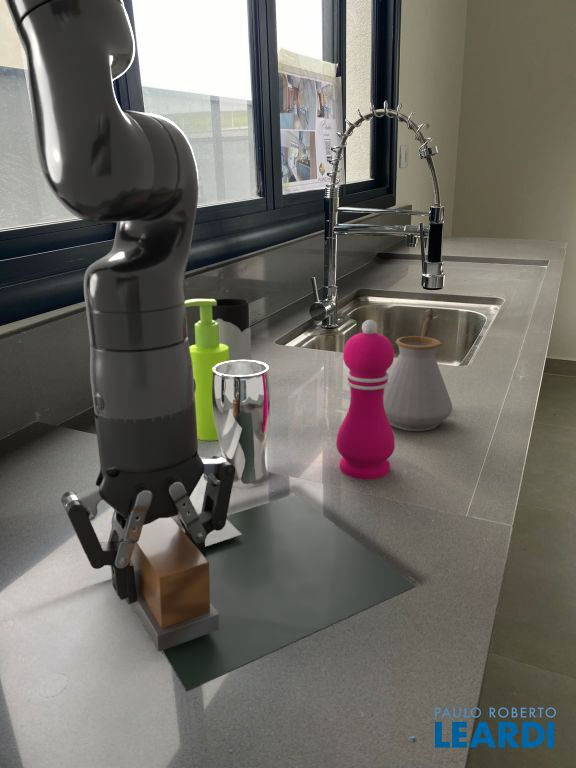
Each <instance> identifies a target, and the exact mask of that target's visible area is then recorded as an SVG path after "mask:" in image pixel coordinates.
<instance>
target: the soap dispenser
mask: <svg viewBox="0 0 576 768" xmlns="http://www.w3.org/2000/svg"><path fill="white" fill-rule="evenodd" d="M215 300H216V299H214V298H191V299H186V300H185V302H186V308H190V307H199V319H200V320H198V321H197V322H196V323H194V338H195V339H194V340H195V344H192V345H189V349H190V354H191V358H192V364H193V372H194V379H195V383H196V389H195V405H196V422H197V438H198V441H199V440H200V441H204V442H206V441H207V442H214V441H219V440H218V436H217V432H216V427H215V422H214V417H213V408H212V377H213V371H212V369H213V367H214V366H215V365H217V364H220V363H223V362H227V361H229V347H228V346H227V345H224V344H220V341H219V323H218V322H215V321H214V320H213V319H212V306H217V302H216V301H215Z"/></svg>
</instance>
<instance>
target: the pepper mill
mask: <svg viewBox="0 0 576 768" xmlns="http://www.w3.org/2000/svg"><path fill="white" fill-rule="evenodd" d="M377 330H378V324H377V323H376V321H374V320H373V319H367V320H365V321H364V322H363V323H362V324H361V331H362V332H358V333H356V334H354V335H352V336H351V337H350V338H349V339H348V340H347V341H346V342H345V344H344V347H343V352H342V359H343V361H344V364H345V366H346V367H347V368H348V369H349V370H348V371H347V373H346V377H347V379H346V384H347V385H348V386H349V389H350V398H349V400H350V401H349V406H348V409H347V413H346V415H345V417H344V418H343V420H342V423H341V424H340V426H339V429H338V432H337V435H336V444H335V446H336V449H337V451H338V453H339V454H340V456H341V457H342V458H340V460H339V470H340V472H341V473H342V474H343V475H344V476H348V477H349V478H353V479H356V480H357V479H358V480H365V481H366V480H367V481H368V480H377V479H381V478H383V477H385V476H387V475H388V474H389V473H390V471H391V470H390V467H391V463H390V460H388V459H389V458H390V457H391V456H392V455H393V454H394V451H395V448H396V446H395V445H396V444H395V435H394V431H393V428H392V425H391V424H390V423H389V421H388V418H387V416H386V413H385V409H384V402H383V395H384V389H385V387H387V386H388V384H389V382H388V378H389V374H390V373H388V370H389V368H390V367H391V366H392V365H393V363H394V360H395V350H394V347H393V346H394V345H393V344H392V342H391V341H390V339H389V338H388V337H386V336H385V335H383V334H381V333H377Z"/></svg>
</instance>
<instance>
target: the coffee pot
mask: <svg viewBox="0 0 576 768" xmlns="http://www.w3.org/2000/svg"><path fill="white" fill-rule="evenodd" d="M434 312H435V313H436V314H437V315H436V316H434V315H433V314H434ZM438 316H439V311H437V310H436V309H433V308H432V307H430V308H429V309H426V310H425V311H424V317H425V320H424V322H423V324H422V329H421V335H420V336H418V335H410V336H401V337H398V338H397V339H396V340H395V344H396V345H397V346H398V351H399V354H398V356H397V358H396V360H395V362H394V364H393V366H392V368H391V370H390V371H389V373H388V374H389V378H388V382H389V384H388V386H387V387H385V389H384V395H383V402H384V409H385V413H386V416H387V418H388V421H389V423H390V425H391V427H394V428H397V429H400V430H404V431H408V432H409V431H411V432H412V431H413V432H425V431H430V430H433V429H435V428H437V427H438V426H439V425H440V424H442V423H443V422H444V421H446V420H447V419H448V417H450V415H451V413H452V412H453V403H452V400H451V397H450V395H449V392H448V390H447V389H448V388H447V387H446V384H445V381H444V378H443V375H442V373H441V370H440V367H439V364H438V362H437V359H436V353H437V352H438V351H439V350H440V347H441V346H443V343H442V342H441V341H440V340H439V339H436V338H433V337H428V335H429V332H430V330H431V328H432V320H433V319H436V318H438Z"/></svg>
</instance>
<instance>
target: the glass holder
mask: <svg viewBox="0 0 576 768" xmlns="http://www.w3.org/2000/svg"><path fill="white" fill-rule="evenodd" d="M214 300H215V301H216V302H217V306H212V319H213V320H214V321H215V322H218V323H219V341H220V344H224V345H227V346H228V347H229V361H234V360H252V339H251V338H252V337H251V336H252V334H251V333H252V332H251V306H250V302H249V300H246V299H242V298H218V299H217V298H216V299H214Z"/></svg>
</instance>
